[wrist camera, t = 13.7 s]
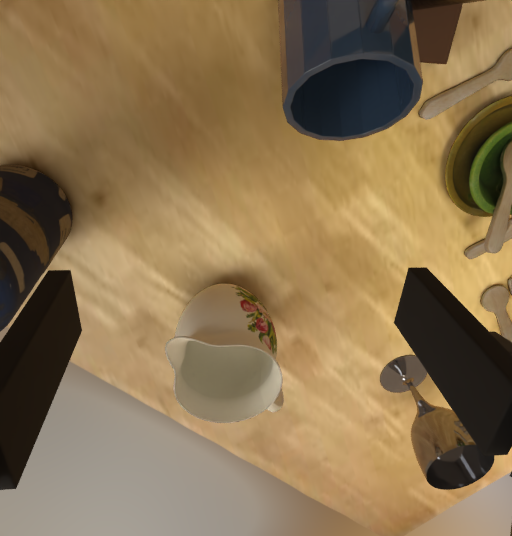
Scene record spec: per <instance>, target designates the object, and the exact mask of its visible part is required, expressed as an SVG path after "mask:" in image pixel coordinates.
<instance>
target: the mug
mask: <svg viewBox="0 0 512 536" xmlns="http://www.w3.org/2000/svg"><path fill="white" fill-rule="evenodd" d="M278 12H279V34H280V57H281V79H282V102H283V110H284V113H285V116H286V119H287V122H288V123H289V124H290V125H291V126H292V127H294V128H295V129H296V130H297V131H298V132H299V133H301V134H304V135H307V136H310V137H313V138H316V139H320V140H335V141H344V140H350V139H356V138H363V137H366V136H369V135H372V134H374V133H377V132H380V131H382V130H385V129H387V128H389V127H391V126H392V125H394V124H395V123H397V122H398V121H400V120H401V119H403V118H404V117H406V116H407V115H408V113H409V112H410V111H411V110H412V108H413V107H414V106H415V105H416V103H417V102H418V101H419V99H420V95H421V90H422V85H423V78H422V72H421V65H420V58H419V51H418V44H417V37H416V31H415V24H414V17H413V10H412V3H411V0H278Z"/></svg>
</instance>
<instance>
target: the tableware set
mask: <svg viewBox="0 0 512 536" xmlns="http://www.w3.org/2000/svg"><path fill="white" fill-rule="evenodd" d="M496 80H507V81H511V80H512V48H511V49H509V50H508V51H506V52H505V53H504V54H503V55H502V56H501V58H500V59H499V61H498V62H497V64H496V65H495V66H494V67H493V68H492V69H490V70H489V71H487V72H485V73H483V74H481V75H478V76H476V77H474V78H472V79H470V80H468V81H466V82H464V83H462V84H460V85H458V86H456V87H454V88H452V89H450V90H447V91H445V92H443V93H441V94H439V95H437V96H435V97H433V98H431V99H429V100H428V101H426V102H425V104H424V105H423V107H422V108H421V110H420V111H419V115H420V117H422V118H424V119H431V118H433V117H434V116H436V115H438V114H440V113H441V112H443V111H445V110H446V109H448V108H450V107H451V106H453V105H455V104H456V103H458V102H459V101H461V100H463V99H464V98H466V97H468V96H470V95H471V94H473V93H475V92H477V91H478V90H480V89H482V88H483V87H485V86H487V85H488V84H490V83H492V82H494V81H496ZM445 179H446V187H447V190H448V193H449V196H450V198H451V199H452V201H453V202H454V203H455V204H456V205H457V206H458V207H459V208H460V209H461V210H463V211H465V212H466V213H469V214H471V215H475V216H480V217H490V216H493V217H492V220H491V223H490V226H489V229H488V232H487V235H486V239H484V240H482V241H480V242H478V243H476V244H474V245H472V246H470V247H469V248H467V249H466V251H465V256H466V257H467V258H468V259H473V258H476V257H478V256H480V255H482V254H483V253H485V252H488V253H497V252H499V251H500V250H501V248H502V246H503V243H504V242H506V241H508V240H510V239H511V238H512V219H510V220H509V222H508V219H509V215H512V96H509V97H506V98H503V99H501V100H498V101H496V102H494V103H492V104H490V105H489V106H487V107H485V108H484V109H483V110H481V111H480V112H479V113H478V114H476V115H475V116H474V117H473V118H472V119H471V120H470V121H469V122H468V123H467V124H466V125H465V127H464V128H463V129H462V130H461V132H460V133H459V135H458V136H457V138H456V140H455V141H454V143H453V145H452V147H451V150H450V153H449V156H448V160H447V163H446V171H445ZM508 285H509V290H510V293H511V295H512V278H511V279H509V280H508ZM508 301H509V292H508V290H507V289H506V288H505V287H503V286H500V285H497V286H493V287H491V288H489V289H487V290H486V291H485V293H484V294H483V296H482V298H481V304H482V306H483V307H484V308H485V309H486V310H487V311H490V312H494V313H495V315H496V318H497V321H498V324H499V327H500V331H501V334H502V336H503V337H504V338H506V339H508V340H509V341H511V342H512V323H511V320H510V318H509V316H508V314H507V312H506V305H507V303H508Z"/></svg>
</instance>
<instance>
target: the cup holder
mask: <svg viewBox="0 0 512 536" xmlns="http://www.w3.org/2000/svg"><path fill="white" fill-rule="evenodd" d="M477 1H484V0H411V3H412V10H413V17H414V24H415V31H416V37H417V44H418V51H419V58H420V62H426V63H437V64H447V60H448V57H449V53H450V49H451V45H452V42H453V38H454V34H455V30H456V27H457V23H458V19H459V16H460V12H461V8H462V4H463V3H470V2H477Z"/></svg>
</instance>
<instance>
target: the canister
mask: <svg viewBox="0 0 512 536" xmlns="http://www.w3.org/2000/svg"><path fill="white" fill-rule="evenodd" d="M71 226H72V211H71V207H70V204H69V201H68V199H67V197H66V196H65V194H64V192H63V191H62V190H61V188H60V187H59V186H58V185H57V184H56V183H55V182H54V181H53V180H51V179H50V178H49V177H47V176H46V175H44V174H42V173H41V172H39V171H37V170H34V169H31V168H28V167H25V166H20V165H0V331H1V330H3V329H4V328H5V327H6V326H7V325H8V324H9V322H10V321H11V320H12V318H13V317H14V315H15V314H16V312H17V311H18V309H19V308H20V307H21V305H22V304H23V302H24V301H25V299H26V298H27V296H28V295H29V293H30V292H31V290H32V289H33V287H34V285H35V284H36V282H37V281H38V280H39V278H40V277H41V275H42V274H43V273H44V272H45V270H46V269H47V267H48V266H49V264H50V263H51V261H52V260H53V258H54V257H55V255H56V254H57V252H58V251H59V249H60V248H61V246H62V245H63V243H64V242H65V240H66V239H67V237H68V235H69V233H70V230H71Z"/></svg>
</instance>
